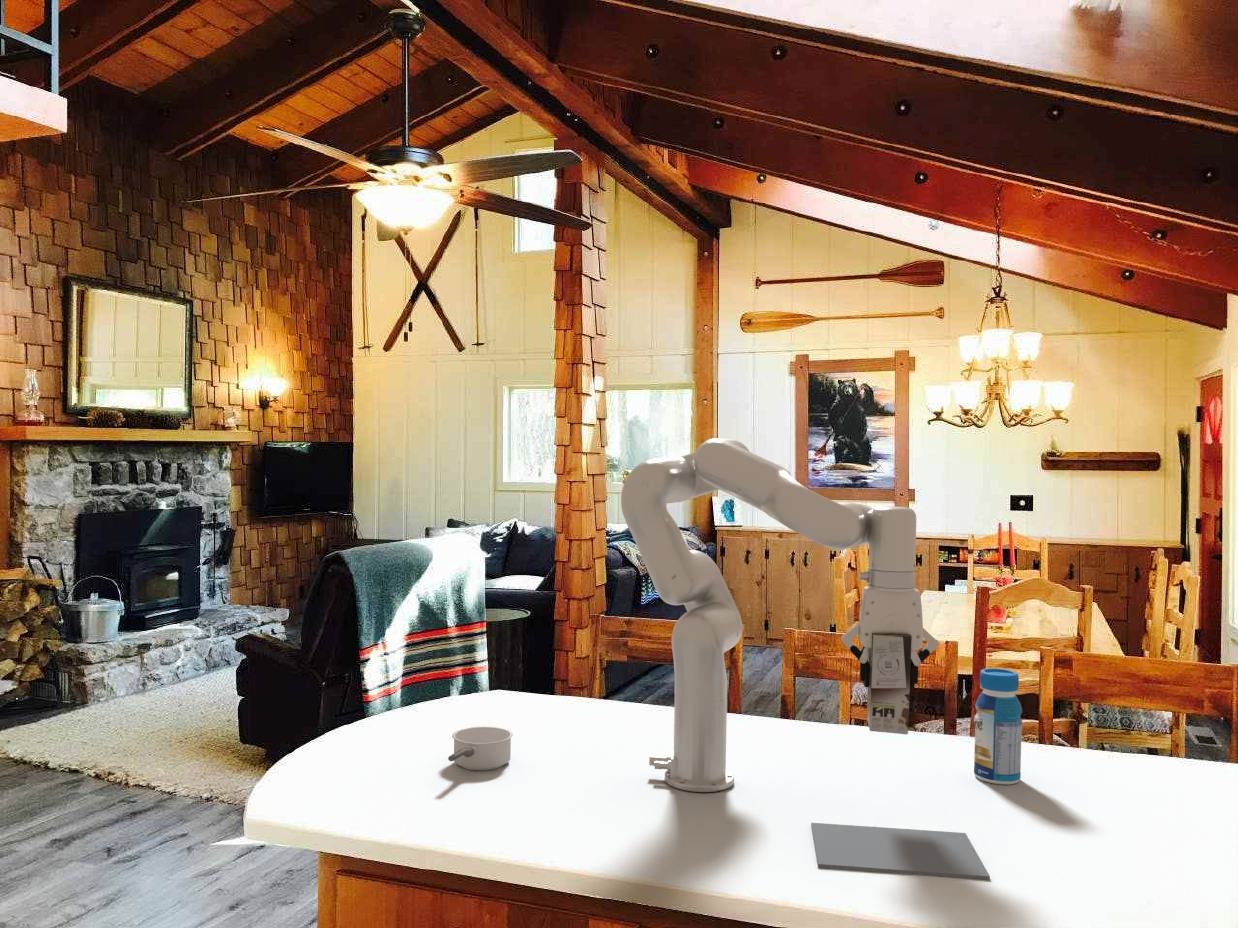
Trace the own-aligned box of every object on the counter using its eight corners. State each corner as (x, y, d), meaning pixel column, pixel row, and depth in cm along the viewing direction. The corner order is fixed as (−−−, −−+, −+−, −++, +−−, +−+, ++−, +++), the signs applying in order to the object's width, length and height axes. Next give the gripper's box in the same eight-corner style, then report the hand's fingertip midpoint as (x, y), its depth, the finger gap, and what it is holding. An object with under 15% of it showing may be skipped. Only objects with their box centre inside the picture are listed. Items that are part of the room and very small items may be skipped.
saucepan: (420, 784, 174) (421, 753, 174) (466, 751, 194) (466, 723, 193) (480, 791, 171) (481, 760, 171) (521, 757, 191) (521, 729, 191)
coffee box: (909, 735, 159) (912, 636, 158) (868, 731, 160) (871, 633, 160) (904, 720, 168) (907, 626, 167) (865, 717, 169) (868, 624, 169)
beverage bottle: (1016, 789, 177) (1019, 679, 177) (968, 780, 181) (970, 672, 181) (1025, 776, 184) (1027, 670, 184) (978, 767, 189) (980, 664, 188)
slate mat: (817, 867, 142) (818, 863, 142) (811, 825, 158) (811, 822, 158) (989, 879, 139) (989, 876, 139) (965, 835, 155) (965, 832, 155)
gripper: (840, 581, 161) (837, 689, 161) (949, 585, 159) (946, 695, 159) (836, 575, 168) (833, 678, 169) (940, 579, 166) (937, 684, 166)
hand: (888, 685), depth 164 cm, fingers closed on coffee box, 6 cm apart
